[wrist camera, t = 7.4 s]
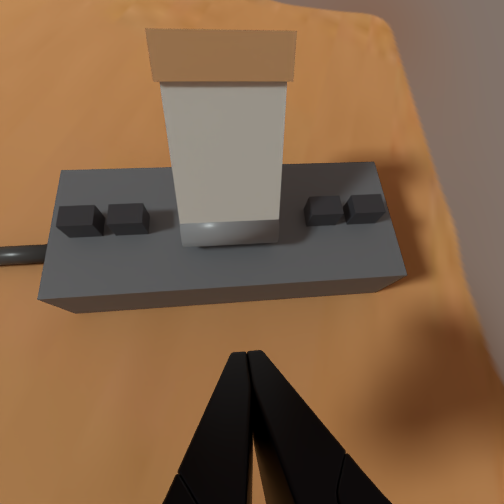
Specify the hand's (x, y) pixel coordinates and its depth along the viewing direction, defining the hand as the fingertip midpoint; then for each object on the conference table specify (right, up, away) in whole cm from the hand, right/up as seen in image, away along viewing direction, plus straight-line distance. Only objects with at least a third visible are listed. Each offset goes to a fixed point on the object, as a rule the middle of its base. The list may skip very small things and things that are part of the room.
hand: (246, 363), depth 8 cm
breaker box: (-5, +3, +13) cm, 14 cm away
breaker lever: (-1, +4, +8) cm, 9 cm away
